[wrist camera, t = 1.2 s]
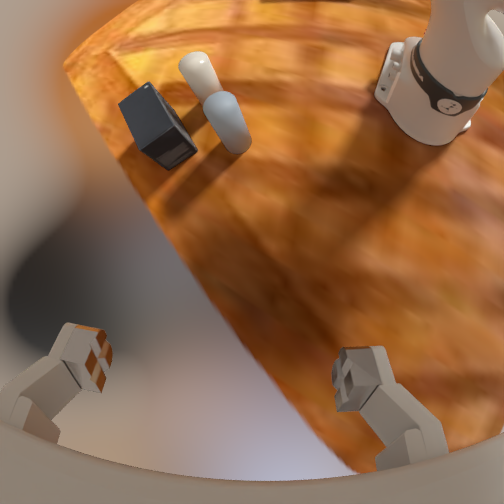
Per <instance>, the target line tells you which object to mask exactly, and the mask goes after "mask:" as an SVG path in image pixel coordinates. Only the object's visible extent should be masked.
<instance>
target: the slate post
mask: <svg viewBox="0 0 504 504" xmlns="http://www.w3.org/2000/svg"><path fill="white" fill-rule="evenodd" d="M203 112H204V114H205V115H206V117H207V119H208V120H209V122H210V123H211V125H212V127H213V128H214V130H215V131H216V133H217V135H218V136H219V138H220V139H221V141H222V143H223V144H224V146H225V147H226V149H227V150H228V151H229V152H230V153H233V154H241V153H243V152H245V151H247V150H248V149H249V147H250V145H251V142H252V140H251V136H250V133H249V131H248V128H247V126H246V123H245V120H244V118H243V115H242V113H241V110H240V108H239V105H238V103H237V100H236V98H235V96H234V95H233V94H231V93H229V92H226V91H220V92H216V93H213V94H212V95H210V96H209V97H208V98H207V99H206V100H205V102H204V104H203Z"/></svg>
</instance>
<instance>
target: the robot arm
mask: <svg viewBox="0 0 504 504" xmlns="http://www.w3.org/2000/svg"><path fill="white" fill-rule="evenodd" d="M490 10H496V11H498V12H501V13H503V14H504V0H431V16H430V20H429V23H428V26H427V29H426V32H424V34H425V35H424V37H423V38H420V37H408V38H406V39H405V41H404V42H396V43H392V44H391V45H390V47H389V50H388V53H387V56H386V59H385V63H384V66H383V69H382V72H381V75H380V78H379V81H378V84H377V87H376V89H375V92H374V96H375V98H376V99H377V100H378V101H379V102H380V103H381V104H382V105H384V106H385V107H386V108H387V109H388V111H389V112H390V114H391V116H392V118H393V119H394V121H395V122H396V123H397V125H398V126H399V127H400V128H401V129H402V130H403V131H404V132H405V133H406V134H408V135H409V136H410V137H412V138H414V139H415V140H417V141H419V142H422V143H424V144H428V145H444V144H447V143H449V142H450V141H452V140H453V139H454V138H455V137H456V135H457V134H458V133H459V132H462V131H466V130H468V129H469V127H470V126H471V121H470V119H471V118H472V116H473V115H474V114H475V112H476V111H477V110H478V108H479V106H480V102H481V101H482V99H483V97H484V96H485V94H486V93H487V90H488V87H489V86H490V85H491V84H492V83H493V81H494V80H495V79H496V78H497V77H498V76H499V75H500V73H501V72H502V71H503V70H504V37H503V35H502V33H501V31H500V30H499V28H498V27H497V25H496V24H495V23H494V22H493V20H492V19H491V18H490V17H489V16H488V15H487V13H488V12H489V11H490ZM382 89H384V90H385V91H383V90H382ZM106 336H107V335H106V333H105V331H104V330H102V329H97V328H92V327H87V326H81V325H77V324H72V323H66V324H65V325H64V326H63V328H62V329H61V331H60V333H59V335H58V337H57V339H56V341H55V343H54V345H53V347H52V349H51V351H50V353H49V355H48V357H47V356H44V357H43V358H41V359H40V360H39V361H37V362H36V363H34V364H33V365H32V366H30V367H29V368H28V369H26V370H25V371H23V372H22V373H21V374H19V375H18V376H16V377H15V378H14V379H12V380H11V381H10V382H8V383H7V384H6V385H4V386H3V388H2V390H1V392H0V504H504V432H503V433H501V434H499V435H496V436H494V437H492V438H489V439H487V440H484V441H482V442H479V443H477V444H474V445H471V446H469V447H466V448H463V449H460V450H457V451H454V452H451V453H449V450H448V446H447V442H446V439H445V435H444V432H443V428H442V425H441V422H440V421H439V420H438V419H437V418H436V417H435V416H434V415H433V414H432V413H430V412H429V411H428V410H427V409H426V408H425V407H424V406H423V405H422V404H421V403H420V402H419V401H418V400H417V399H416V398H415V397H413V396H412V395H411V394H410V393H409V392H408V391H407V390H406V389H405V388H404V387H403V386H402V385H401V384H400V383H399V384H396V382H395V379H394V375H393V372H392V369H391V366H390V363H389V360H388V356H387V353H386V350H385V348H384V347H383V346H356V347H342V348H341V349H340V351H339V359H337V360H335V362H334V365H333V368H332V383H333V386H334V387H335V388H336V389H337V390H338V391H337V393H336V394H335V402H336V408H337V412H347V411H359V413H360V414H361V415H362V416H363V418H364V419H365V420H366V421H367V423H368V424H369V425H370V427H371V428H372V429H373V430H374V432H375V433H376V434H377V435H378V437H379V438H380V439H381V440H382V442H383V443H384V444H385V445H386V448H385V449H384V450H383V451H381V452H380V453H379V454H378V455H377V456H376V457H375V460H376V467H377V471H375V472H369V473H363V474H357V475H350V476H342V477H333V478H324V479H313V480H312V479H311V480H293V481H241V480H223V479H211V478H200V477H192V476H184V475H176V474H170V473H164V472H158V471H153V470H147V469H142V468H138V467H132V466H128V465H124V464H120V463H116V462H112V461H108V460H104V459H101V458H97V457H94V456H91V455H87V454H84V453H81V452H78V451H75V450H72V449H69V448H66V447H63V446H60V445H58V444H57V442H58V438H59V435H60V430H59V428H58V427H57V426H56V425H55V424H54V423H53V422H52V421H51V420H52V419H53V418H54V417H55V416H56V415H57V414H58V413H59V412H60V411H61V410H62V409H63V408H64V407H65V406H66V405H67V404H68V403H69V402H70V401H71V400H72V399H73V398H74V397H75V396H76V395H77V394H78V393H79V392H80V391H81V389H84V390H89V391H93V392H98V393H102V389H103V387H104V384H105V380H106V376H105V374H104V372H105V371H107V370H108V369H109V368H110V366H111V362H112V348H111V345H110V344H109V343H108V342H107V341H106V340H105V339H106Z"/></svg>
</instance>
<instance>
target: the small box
mask: <svg viewBox="0 0 504 504" xmlns="http://www.w3.org/2000/svg"><path fill="white" fill-rule="evenodd" d="M118 105H119V107H120V110H121V112H122V114H123V116H124V118H125V121H126V123H127V125H128V127H129V129H130V131H131V133H132V136H133V138H134V140H135V142H136V144H137V146H138V149H139V150H140V151H142V152H143V153H145V154H146V155H147V156H149V157H150V158H152V159H153V160H154V161H156V162H157V163H158V164H160V165H161V166H162V167H164V168H165V169H167V170H170V169H172V168H173V167H175V166H176V165H178V164H179V163H181V162H182V161H184V160H185V159H187V158H188V157H190V156H192V155H193V154H195V153H196V152H197V151H198V149H197V148H196V146H195V144H194V143H193V141H192V139H191V138H190V135H189V134H188V132H187V131H186V129H185V127H184V126H183V124H182V122H181V120H180V118H179V117H178V116H177V114H176V112H175V111H174V109H173V108H172V107H171V106H170V105H169V104H168V103H167V101H166V100H165V99H164V98H163V97H162V96H161V95H160V93H159V92H158V91H157V90H156V89H155V87H154V86H153V85H152V84H151V83H150V82H147V83H145V84H144V85H143V86H141V87H140V88H138V89H137V90H136V91H134V92H133V93H132V94H130V95H129V96H128V97H126V98H125V99H124V100H122V101H121V102H120V103H119V104H118Z"/></svg>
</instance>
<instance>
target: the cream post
mask: <svg viewBox="0 0 504 504" xmlns="http://www.w3.org/2000/svg"><path fill="white" fill-rule="evenodd" d="M179 70H180V72H181V73H182V75H183V76H184V78H185V80H186V81H187V83H188V84H189V86H190V87H191V89H192V91H193V92H194V94H195V95H196V97H197V99H198V100H199V102H200V103H201V105H202V107H203V104H204V102H205V100H206V99H207V98H208V97H209V96H210V95H212V94H213V93H216V92H220V91H223V89H222V86H221V84H220V82H219V80H218V78H217V75H216V73H215V71H214V69H213V67H212V65H211V63H210V60H209V58H208V56H207V55H206V54H205V53H203V52H199V51H197V52H192V53H189V54H187V55H186V56H184V57H183V58H182V59H181V61H180V62H179Z"/></svg>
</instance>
